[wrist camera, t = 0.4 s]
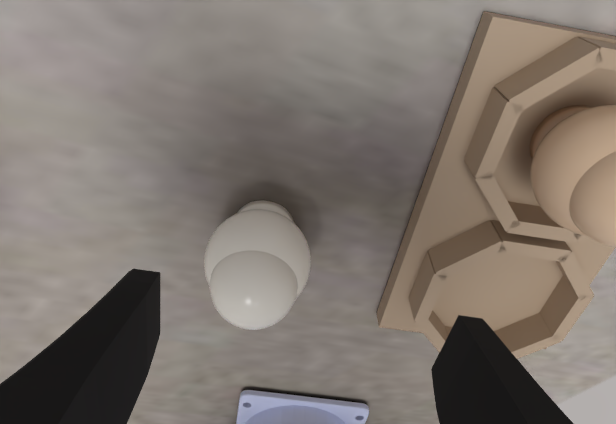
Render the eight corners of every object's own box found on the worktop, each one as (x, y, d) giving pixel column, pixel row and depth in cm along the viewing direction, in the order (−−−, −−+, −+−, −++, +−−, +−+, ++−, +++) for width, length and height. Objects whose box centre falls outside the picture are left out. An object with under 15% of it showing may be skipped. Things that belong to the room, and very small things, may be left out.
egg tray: (537, 334, 25) (558, 373, 23) (376, 312, 24) (382, 350, 22) (720, 56, 17) (778, 76, 14) (483, 11, 16) (509, 26, 14)
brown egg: (592, 196, 19) (686, 293, 14) (490, 180, 18) (551, 273, 14) (654, 94, 16) (792, 168, 12) (538, 73, 16) (632, 141, 11)
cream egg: (303, 268, 22) (299, 364, 18) (214, 255, 22) (185, 349, 17) (319, 193, 20) (320, 280, 15) (219, 177, 20) (188, 262, 15)
